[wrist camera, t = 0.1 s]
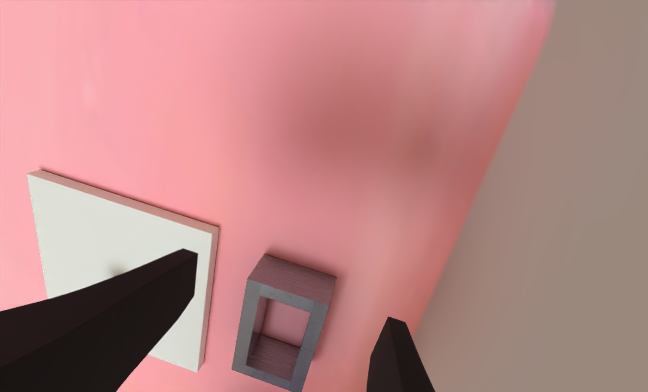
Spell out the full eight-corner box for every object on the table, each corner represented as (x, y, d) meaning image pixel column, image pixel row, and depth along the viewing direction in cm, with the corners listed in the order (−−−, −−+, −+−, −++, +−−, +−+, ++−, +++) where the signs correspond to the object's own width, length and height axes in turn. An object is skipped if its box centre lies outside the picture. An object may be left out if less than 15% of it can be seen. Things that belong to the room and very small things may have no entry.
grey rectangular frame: (309, 360, 26) (300, 394, 23) (247, 338, 27) (231, 369, 24) (336, 277, 22) (329, 306, 20) (264, 253, 23) (247, 278, 20)
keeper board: (203, 363, 29) (166, 421, 24) (61, 311, 30) (-2, 357, 25) (219, 227, 23) (173, 269, 18) (40, 169, 24) (-48, 194, 19)
